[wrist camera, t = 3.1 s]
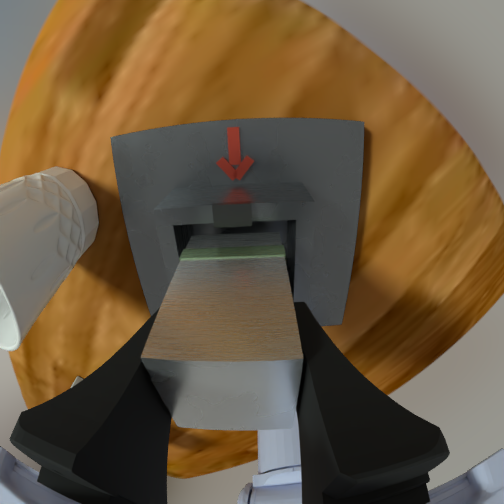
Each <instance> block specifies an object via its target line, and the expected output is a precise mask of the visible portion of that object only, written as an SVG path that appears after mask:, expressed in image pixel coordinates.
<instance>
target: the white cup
mask: <svg viewBox="0 0 504 504" xmlns="http://www.w3.org/2000/svg"><path fill="white" fill-rule="evenodd" d="M98 225H99V219H98V212H97V204H96V200H95V199H94V197H93V195H92V193H91V191H90V189H89V187H88V185H87V183H86V182H85V181H84V180H83V179H82V178H81V177H79V176H78V175H77V174H76V173H75V172H74V171H73V170H70V169H66V168H61V167H52V168H50V169H47V170H44V171H41V172H39V173H36V174H33V175H28V176H23V177H20V178H17V179H14V180H11V181H9V182H7V183H4V184H1V185H0V348H1V349H3V350H7V351H14V350H16V349H18V348H19V346H20V344H21V343H22V341H23V340H24V338H25V336H26V335H27V333H28V332H29V330H30V329H31V327H32V325H33V324H34V322H35V321H36V319H37V318H38V317H39V315H40V314H41V312H42V311H43V309H44V308H45V307H46V305H47V304H48V302H49V301H50V300H51V298H52V297H53V296H54V294H55V293H56V291H57V290H58V288H59V287H60V285H61V284H62V283H63V282H64V280H65V279H66V278H67V276H68V275H69V273H70V272H71V270H72V269H73V268H74V266H75V264H76V262H77V261H78V260H79V258H80V257H81V255H82V254H83V253H84V252H85V251H86V250H87V249H88V248H89V246H90V245H91V244H92V243H93V242H94V240H95V236H96V232H97V229H98Z"/></svg>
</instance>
